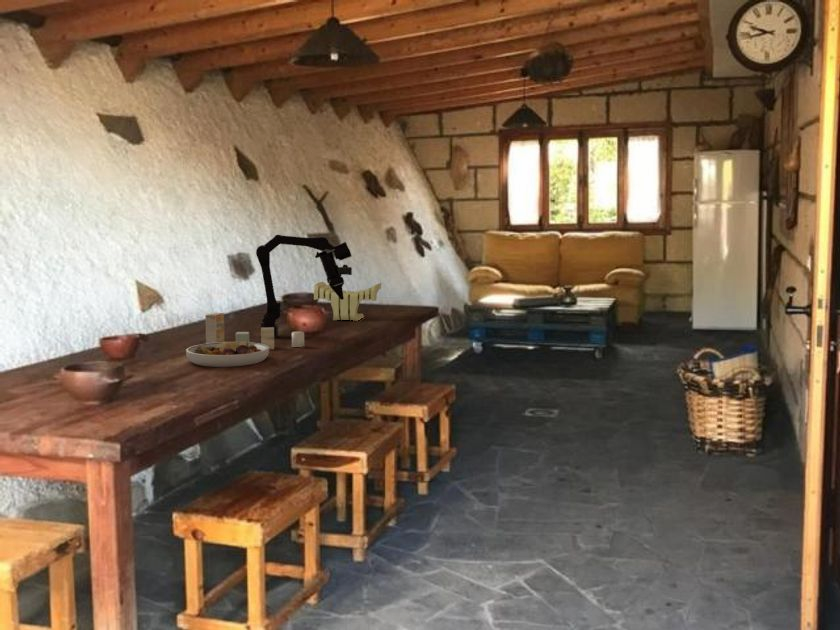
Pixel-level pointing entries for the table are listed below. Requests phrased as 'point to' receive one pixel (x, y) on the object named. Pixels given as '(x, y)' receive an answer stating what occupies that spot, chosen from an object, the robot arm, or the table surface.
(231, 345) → the bowl
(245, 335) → the sage cube
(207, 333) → the supplement box
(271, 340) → the beech block
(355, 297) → the slatted curved stool
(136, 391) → the table surface
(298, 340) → the beige square block
